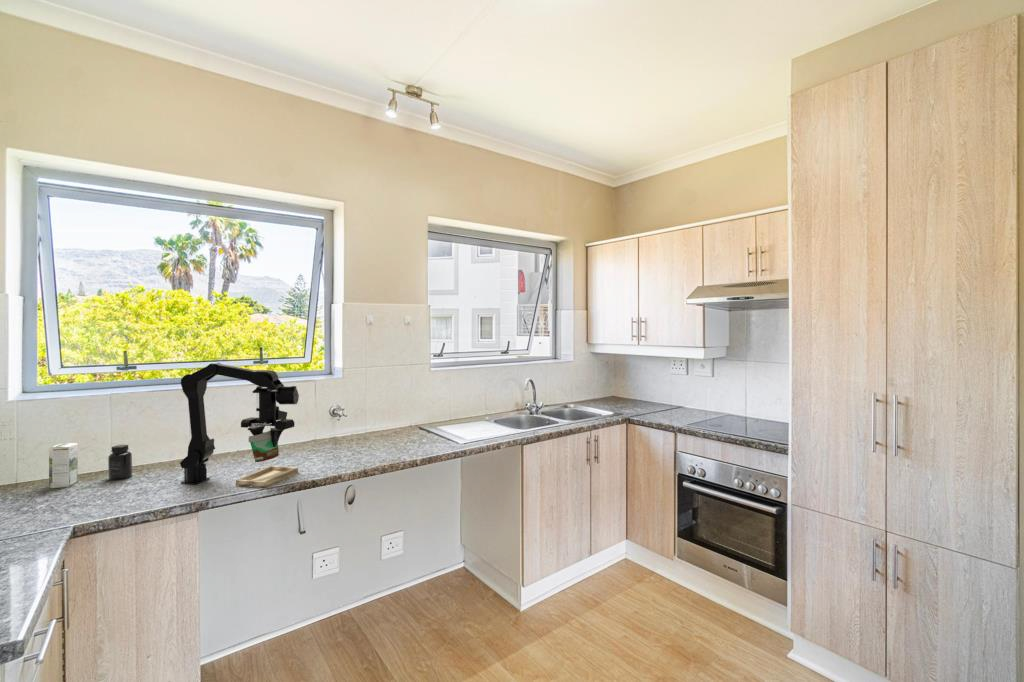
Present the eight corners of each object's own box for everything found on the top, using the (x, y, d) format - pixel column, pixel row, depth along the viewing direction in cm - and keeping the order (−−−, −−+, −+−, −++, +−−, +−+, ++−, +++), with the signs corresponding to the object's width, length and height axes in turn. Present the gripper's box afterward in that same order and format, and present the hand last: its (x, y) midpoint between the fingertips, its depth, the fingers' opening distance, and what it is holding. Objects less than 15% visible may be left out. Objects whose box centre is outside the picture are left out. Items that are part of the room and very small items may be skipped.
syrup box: (57, 483, 168) (57, 443, 168) (78, 481, 170) (77, 442, 170) (48, 488, 163) (47, 447, 162) (70, 486, 165) (69, 446, 164)
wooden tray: (235, 485, 166) (235, 480, 166) (271, 470, 184) (271, 465, 184) (265, 488, 164) (265, 482, 164) (298, 472, 182) (298, 467, 182)
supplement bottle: (136, 475, 177) (136, 444, 177) (117, 481, 171) (116, 448, 170) (123, 474, 179) (123, 443, 179) (103, 479, 173) (103, 447, 172)
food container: (267, 462, 168) (262, 435, 167) (252, 463, 169) (247, 436, 168) (289, 451, 180) (285, 426, 179) (275, 452, 181) (271, 427, 180)
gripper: (303, 402, 179) (303, 442, 180) (261, 400, 183) (261, 440, 183) (284, 407, 168) (284, 450, 169) (239, 404, 172) (239, 447, 173)
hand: (267, 446), depth 174 cm, fingers closed on food container, 5 cm apart
